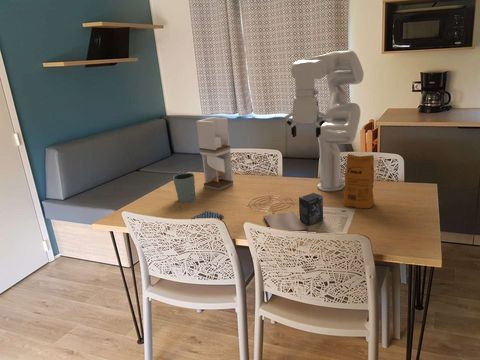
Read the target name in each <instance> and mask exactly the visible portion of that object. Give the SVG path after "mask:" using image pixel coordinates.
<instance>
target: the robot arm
mask: <svg viewBox="0 0 480 360" xmlns="http://www.w3.org/2000/svg"><path fill="white" fill-rule="evenodd" d="M362 66H363V65H362V64H361V61H360V59H359V57H358V55H357V53H355V51H354V50H339V51H336V50H335V51H330V52H328V53H325V54H322V55H321V54H320V55H317V56H313V57H307V58H302V59H299V60H296V61H295V62H293V63H292V65H291V68H290V69H291V70H290V71H291V72H290V73H291V76H292V78H293V79H294V86H295V97H294V98H293V103H292V112H290V113H289V114H287V115H285V116H284V119H285V121H286V124H288V125H289V127H290V128H291V129H290V130H291V132H290V133H291V136H292V137H293V138H295V137H297V126H296V124H313V123H314V125H315V126H316V127H315V138H317V140H318V145H319V147H318V148H319V174H320V175H319V179H320V182H319V183H318V184H317V185H316V187H317V189H318V190H319V191H324V192H339V191H341V190H344V188H345V176H343V177H341V175H342V174H341V149H340V148H339V146H338V144H341V145H342V144H343V145H349V144H353V143H354V141H355V139H356V137H357V131H358V129H359V128H358V127H359V124H360V120H361V107H360V105H359V104H357V103H356V102H355V103H354V102H348V101H349V95H348V93H347V91H346V90H345V88H343V86H344V85H345V86H347V85H351V86H353V85H359V84H361V83H362V82H363V80H364V69H363V67H362ZM325 76H326V82H327V86H328V90H329V99H328V103H327V107H326V109H325V110H326V111H325V113H323V112H321V111H319V110H320V109H319V108H320V107H319V102H318V100H319V99H318V96H316V95H319V90H316V87H315V81H316V80H321V79H323V78H324V77H325ZM291 117H292V121H291V119H290V118H291ZM320 117H321V118H322V119H321V121H319V119H320Z"/></svg>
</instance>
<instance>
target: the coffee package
mask: <svg viewBox="0 0 480 360" xmlns="http://www.w3.org/2000/svg"><path fill="white" fill-rule="evenodd" d="M374 156H375V155H374V154H369V155H362V156H358V155H355V154H350V153H347V158H346V167H345V168H346V169H345V176H344V177H345V182H344V188H343V204H344V207H353V208H355V209H370V208H372V206H373V205H374V202H375V201H374V200H375V199H374V192H373V188H374V182H375V170H374V169H375V168H374V167H375V164H374V160H375V159H374V158H375V157H374Z"/></svg>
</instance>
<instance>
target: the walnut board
mask: <svg viewBox="0 0 480 360" xmlns="http://www.w3.org/2000/svg"><path fill="white" fill-rule="evenodd" d="M263 221H264V222H265V224H266V225H267V226H268V228H269V227H271V228H276V229H281V230H288V231H308V232H309V228H308V227H307V225H305V224H303V223H302V221H301V220H300V218H299V217H298V216H297V214H295V212H294V211H287V212H282V213H281V212H280V213H274V214H267V215H263Z"/></svg>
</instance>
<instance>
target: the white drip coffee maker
mask: <svg viewBox="0 0 480 360" xmlns="http://www.w3.org/2000/svg"><path fill="white" fill-rule="evenodd" d="M228 122H229V121H228V118H226V117H214V116H212V117H208V118H203V119H199V120H196V130H197V131H196V132H197V138H198V146H199V154H200V155H201V158H202V165H203V167H202V168H203V175H204V176H203V177H204V182H203V187H204V188H208V189H211V190H217V191H221V190H223V189H226V188H229V187H231V186H233V185H234V176H233V166H232V165H233V164H232V154H231V152H232V151H231V144H230V133H229V123H228Z"/></svg>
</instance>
